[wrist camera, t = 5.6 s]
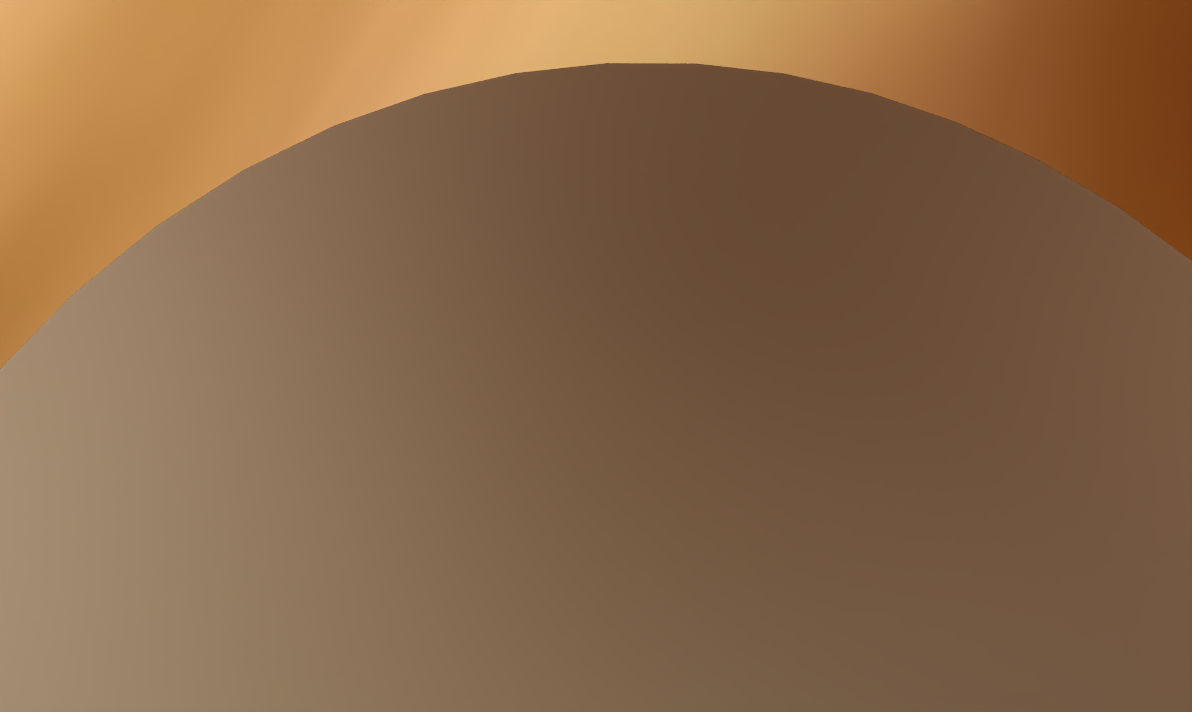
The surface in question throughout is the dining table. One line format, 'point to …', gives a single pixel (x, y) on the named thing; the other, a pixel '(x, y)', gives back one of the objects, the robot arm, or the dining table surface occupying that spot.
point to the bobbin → (612, 422)
